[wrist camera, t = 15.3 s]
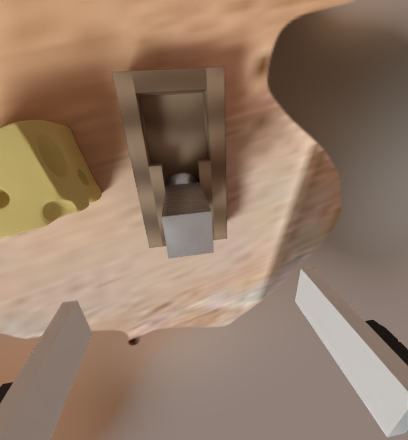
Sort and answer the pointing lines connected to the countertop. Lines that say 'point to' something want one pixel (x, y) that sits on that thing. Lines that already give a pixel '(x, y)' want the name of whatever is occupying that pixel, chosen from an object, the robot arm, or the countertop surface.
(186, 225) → the peg
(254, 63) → the countertop surface
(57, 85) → the countertop surface
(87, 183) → the cheese
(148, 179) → the keyhole plate
